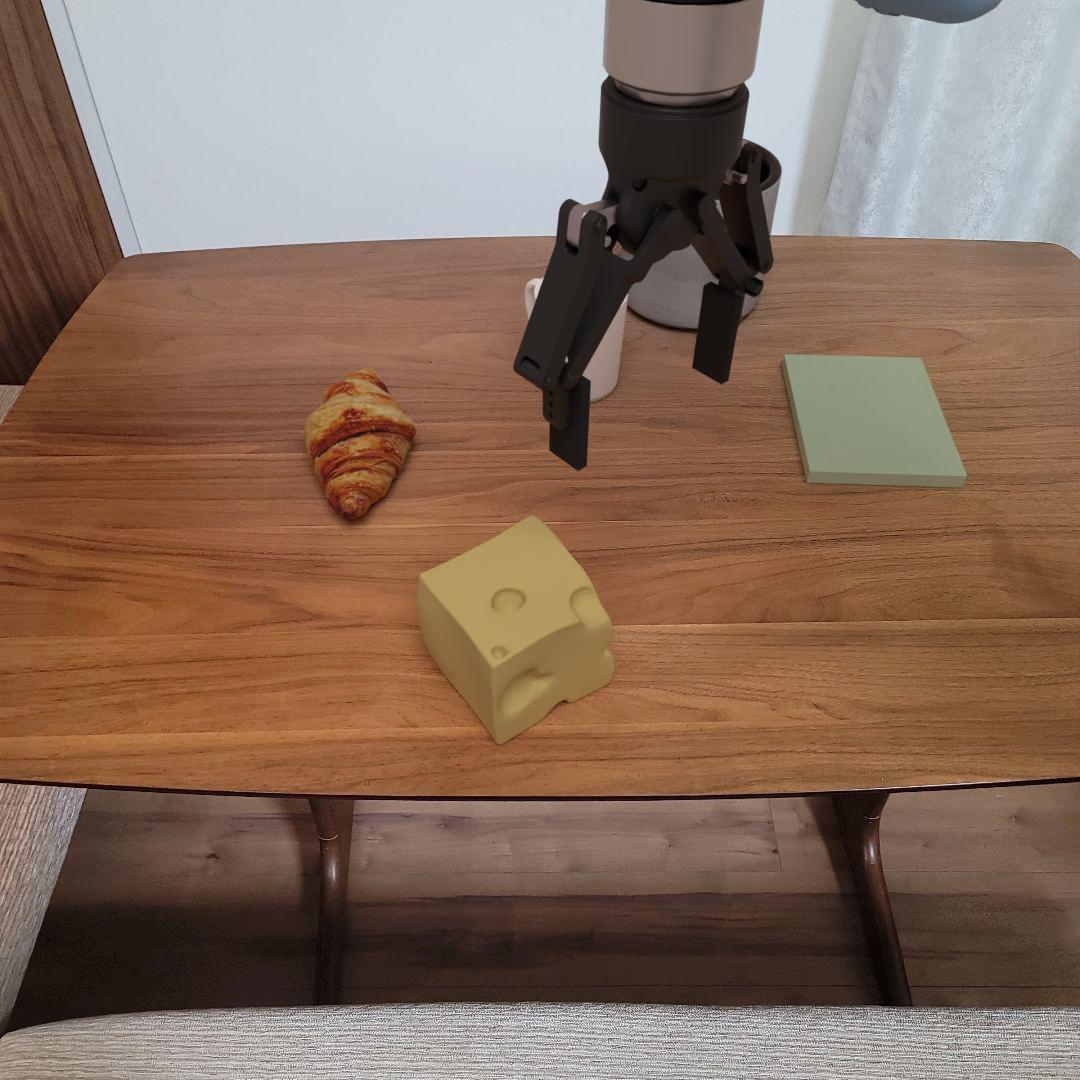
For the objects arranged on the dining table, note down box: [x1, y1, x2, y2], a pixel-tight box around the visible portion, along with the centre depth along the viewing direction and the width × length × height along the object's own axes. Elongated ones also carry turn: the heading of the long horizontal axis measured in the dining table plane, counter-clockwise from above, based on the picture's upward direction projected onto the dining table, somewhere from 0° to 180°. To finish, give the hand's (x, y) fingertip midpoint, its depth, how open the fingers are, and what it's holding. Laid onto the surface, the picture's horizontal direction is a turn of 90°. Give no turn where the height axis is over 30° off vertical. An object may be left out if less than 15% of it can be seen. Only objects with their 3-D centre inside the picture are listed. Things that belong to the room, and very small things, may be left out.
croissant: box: [303, 366, 417, 521], centre depth 85 cm, size 21×10×8 cm, turn 5°
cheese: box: [416, 514, 616, 746], centre depth 67 cm, size 10×11×10 cm
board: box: [781, 353, 968, 489], centre depth 90 cm, size 18×14×2 cm
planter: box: [619, 138, 783, 330], centre depth 100 cm, size 16×16×16 cm
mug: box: [523, 276, 628, 404], centre depth 92 cm, size 11×9×10 cm
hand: (642, 414), depth 62 cm, fingers open, 13 cm apart
